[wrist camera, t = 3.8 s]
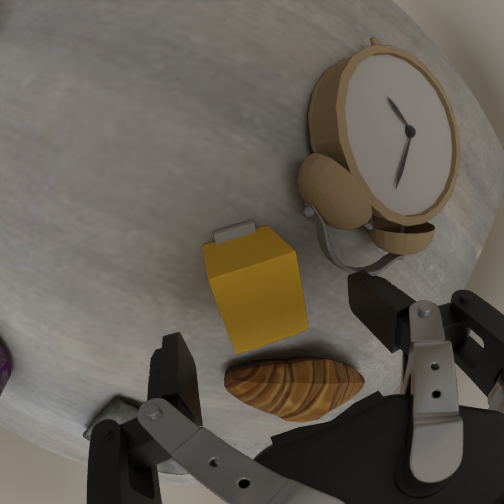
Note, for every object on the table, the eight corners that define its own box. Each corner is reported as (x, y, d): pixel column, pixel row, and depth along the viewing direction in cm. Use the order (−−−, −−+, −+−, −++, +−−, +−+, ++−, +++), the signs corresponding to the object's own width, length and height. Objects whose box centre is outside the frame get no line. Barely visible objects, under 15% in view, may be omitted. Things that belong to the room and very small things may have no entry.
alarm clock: (467, 111, 13) (431, 304, 14) (424, 119, 18) (384, 284, 19) (362, 9, 10) (288, 256, 11) (322, 41, 14) (252, 239, 15)
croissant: (372, 346, 23) (402, 379, 18) (338, 396, 24) (360, 430, 20) (236, 331, 18) (252, 383, 14) (211, 393, 20) (220, 442, 15)
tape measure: (198, 235, 15) (203, 267, 11) (269, 214, 16) (299, 236, 12) (223, 308, 17) (236, 355, 13) (285, 288, 18) (313, 327, 14)
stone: (81, 426, 19) (76, 450, 16) (113, 387, 18) (107, 418, 15) (183, 464, 24) (185, 486, 21) (232, 435, 23) (238, 460, 20)
